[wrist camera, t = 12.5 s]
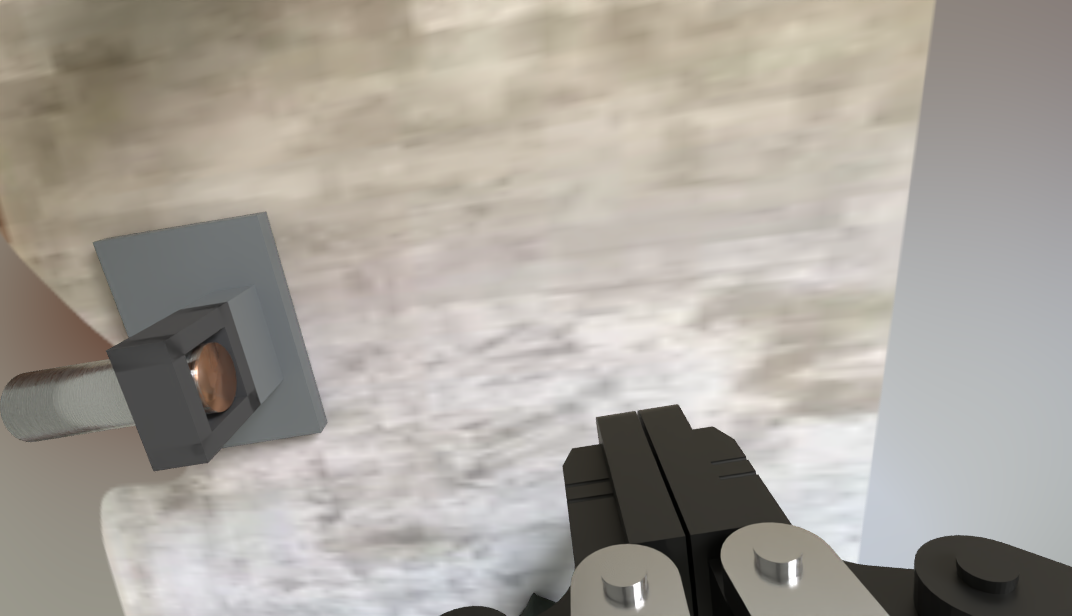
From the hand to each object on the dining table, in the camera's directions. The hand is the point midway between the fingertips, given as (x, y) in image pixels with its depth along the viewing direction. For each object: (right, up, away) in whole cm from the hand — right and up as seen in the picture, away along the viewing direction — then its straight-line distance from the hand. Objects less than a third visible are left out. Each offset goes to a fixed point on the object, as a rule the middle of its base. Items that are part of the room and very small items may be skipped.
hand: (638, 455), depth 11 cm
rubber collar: (-22, 0, +27) cm, 35 cm away
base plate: (-24, +1, +33) cm, 41 cm away
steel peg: (-26, -2, +26) cm, 36 cm away
